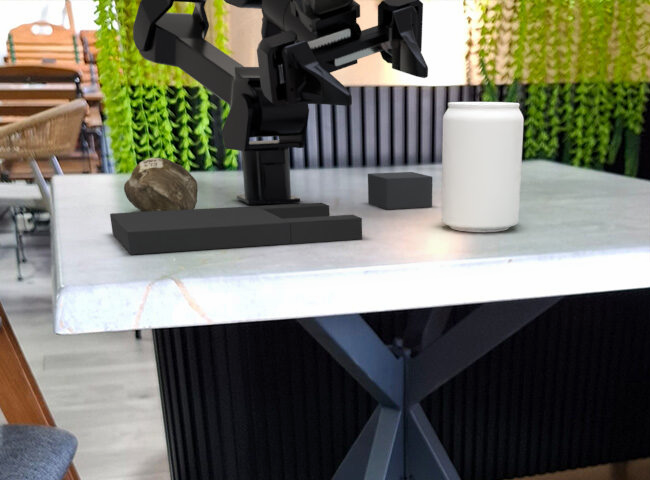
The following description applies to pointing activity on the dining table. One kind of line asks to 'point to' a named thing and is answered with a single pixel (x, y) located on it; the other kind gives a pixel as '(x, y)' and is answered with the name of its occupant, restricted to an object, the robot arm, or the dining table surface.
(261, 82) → the robot arm
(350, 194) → the dining table surface
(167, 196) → the fossilized seashell
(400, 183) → the pad
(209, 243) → the u-shaped holder
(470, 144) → the beverage can
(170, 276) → the dining table surface
